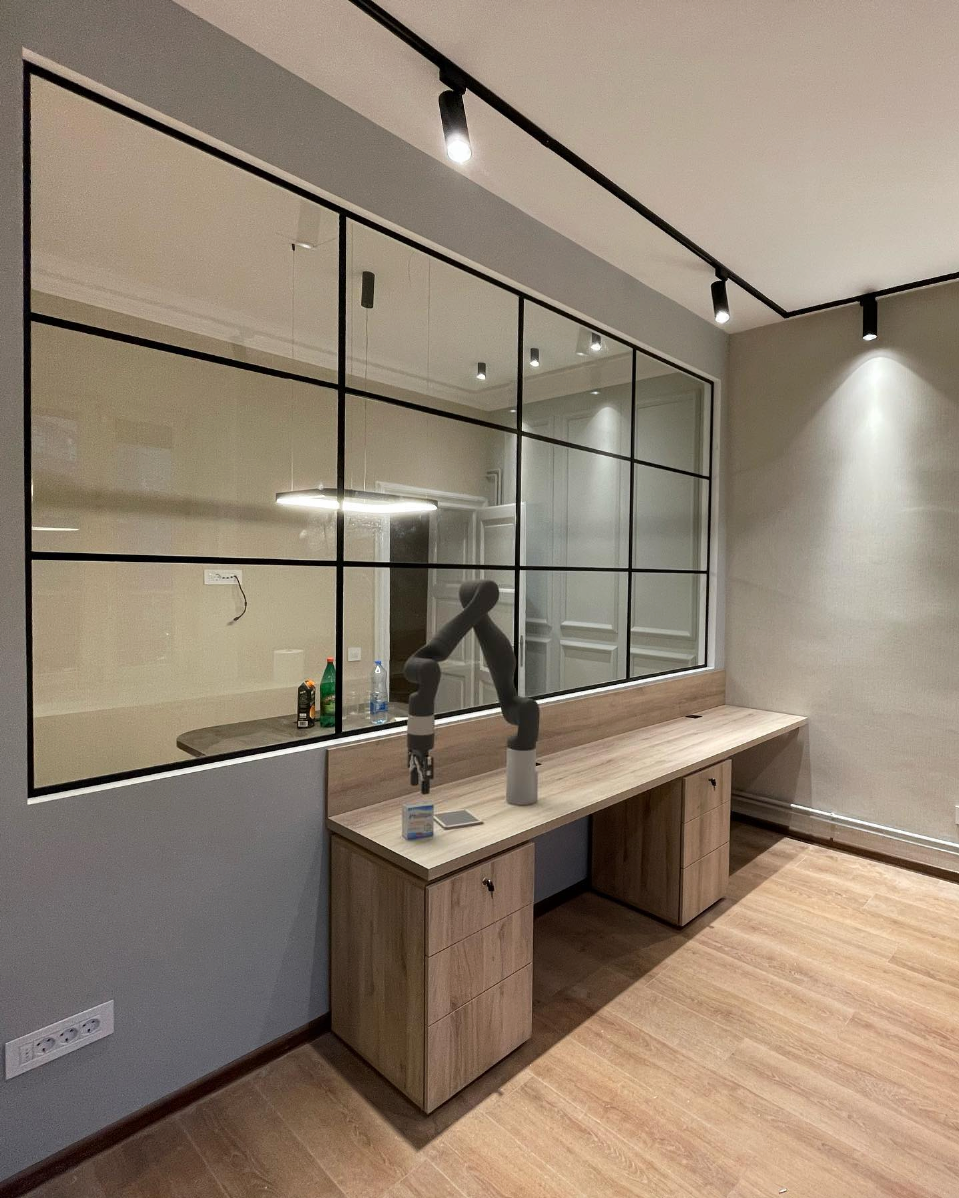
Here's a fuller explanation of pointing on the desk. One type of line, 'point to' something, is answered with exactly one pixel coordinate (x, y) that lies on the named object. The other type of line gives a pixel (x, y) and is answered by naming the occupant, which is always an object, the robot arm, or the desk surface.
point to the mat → (456, 819)
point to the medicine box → (417, 820)
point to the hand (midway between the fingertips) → (419, 789)
